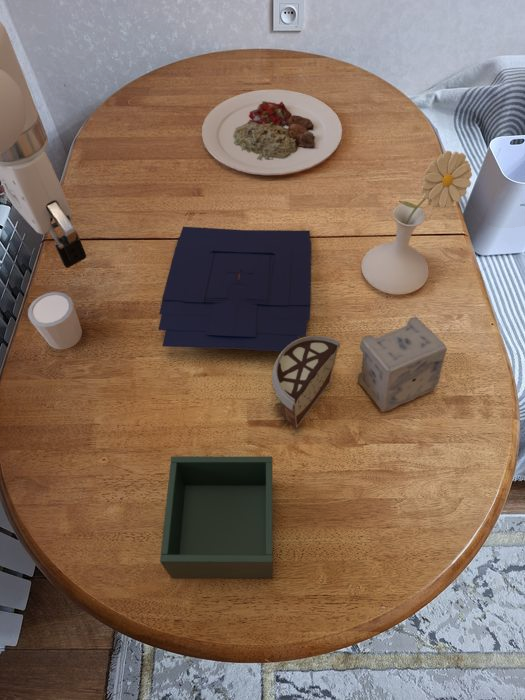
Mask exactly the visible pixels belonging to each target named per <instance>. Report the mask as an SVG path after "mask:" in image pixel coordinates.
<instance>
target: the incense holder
mask: <svg viewBox="0 0 525 700" xmlns="http://www.w3.org/2000/svg"><path fill="white" fill-rule="evenodd" d="M359 349H360V351H361V353H362V360H361V361H362V362H361V371H360V372H359V373H358V378H357V382H358V383H359V384H360V386H361V388H363V389H364V390H365V392H366V393H367V394H368V396H369V397H370V398H371V399H372V401H373V402H374V403H375V405H376V406H377V407H378V408H379V410H380V411H381V412H382V413H385V412H388V411H390V410H393V409H394V408H397V407H399V406H400V405H402V404H405V403H408V402H411V401H413V400H415V399H416V398H418V397H420V396H423V395H425V394H427V393H430V392H432V391H434V390H435V389H436V388H437V386H438V385H439V382H440V379H441V373H442V369H443V366H444V362H445V357H446V354H447V350H448V348H447V346H446V344H445V343H444V342H443V341H442V340H441V339H440V337H438V336H437V334H435V333H434V332H433V331H432V330H431V329H430V328H429V327H428V326H427V325H426V324H425V323H423V321H422V320H420V318H419V317H418V316H412V317H410V318H409V319H408V321H406V325H403V326H402V327H400V328H397V329H395V330H392V331H390V332H386V333H385V334H382V335H379V336H377V337H375V336H373V335H371V334H369V335H365V336H362V338H361V341H360V345H359Z"/></svg>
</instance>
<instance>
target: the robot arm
mask: <svg viewBox="0 0 525 700" xmlns="http://www.w3.org/2000/svg"><path fill="white" fill-rule="evenodd" d="M20 64H21V63H20V61H19V59H18V57H17V54H16V51H15V49H14V46H13V42H12V40H11V37H10V36H9V33H8V31H7V29H6V27H5V25H4V24H3V22H1V21H0V183H1V185H2V187H3V190H4V192H5V194H6V196H7V198H8V200H9V202H10V203H11V204H12V206H13V208H15V209H16V211H17V212H18V214H19V215H21V217H22V218H23V219H24V220H25V221H26V223H27V224H28V225H29V226H30V228H31V229H32V230H34V231H35V233H37V234H40V235H46V234H47V233H50V235H51V236H52V239H53V240H54V241H55V244H54V246H55V249H56V251H57V253H58V255H59V257H60V260H61V262H62V264H63V266H64V267H65V268H66V269H68V268H70V267H72V266H75V265H76V264H79V263H80V262H82V261H84V260H85V259H87V254H86V250H85V248H84V246H83V243H82V241H81V238H80V236H79V234H78V231H76V228H75V227H74V225H73V223H71V221H72V218H73V213H72V210H71V207H70V204H69V202H68V199H67V196H66V194H65V192H64V190H63V187H62V185H61V183H60V180H59V177H58V175H57V174H56V171H55V170H54V167H53V164H52V163H51V161H50V159H49V157H48V154H47V152H46V151H45V150H46V149H47V147H48V144H49V138H48V135H47V132H46V130H45V127H44V124H43V121H42V119H41V116H40V114H39V112H38V109H37V107H36V103H35V101H34V98H33V96H32V93H31V91H30V87H29V85H28V83H27V80H26V78H25V74H24V72H23V70H22V67H21V65H20ZM53 220H54V221H55V222H53ZM51 222H53V223H51ZM56 228H60V230H61V232H62V235H61V236H59V234H58V232H57V231H56V230H55V229H56Z"/></svg>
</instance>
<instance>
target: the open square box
mask: <svg viewBox="0 0 525 700" xmlns="http://www.w3.org/2000/svg"><path fill="white" fill-rule="evenodd" d="M169 464H170V465H169V475H168V482H167V483H168V485H167V493H166V500H165V501H166V502H165V511H164V521H163V528H162V529H163V531H162V539H161V549H160V557H159V562H160V564H161V565H162V566H163V568H164V570H165V571H166V572H167V574H168V575H169V577H170V578H171V579H183V580H184V579H187V580H188V579H193V580H194V579H197V580H199V579H202V580H203V579H205V580H206V579H210V580H211V579H214V580H215V579H217V580H219V579H220V580H227V579H228V580H273V579H274V578H273V577H274V552H273V551H274V545H273V543H274V537H273V535H274V533H273V532H274V529H273V528H274V526H273V525H274V524H273V523H274V522H273V521H274V520H273V515H274V514H273V512H274V511H273V506H274V505H273V503H274V500H273V497H274V496H273V490H274V489H273V483H274V482H273V456H170V463H169Z"/></svg>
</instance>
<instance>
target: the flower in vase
mask: <svg viewBox="0 0 525 700" xmlns="http://www.w3.org/2000/svg"><path fill="white" fill-rule="evenodd" d="M425 174H426V175H425V176H424V177H423V178H422V182H423V183H422V187H421V190H420V191H421V193H422V194H423V198H422V199H421V201H419V203H418V204H417V205H416V204H414V203H412V202H409V201H407V200H406V201H405V200H399V201H398V203H401V204H399V205H397V206H395V208H393V211H392V218H393V220H394V221H395V222H396V235H395V239H394V242H393V241H391V242H383V243H381V244H378V245H375V246H374V247H372V248H371V249H369V250H368V251H367V253H366V254H365V255H364V257H363V258H362V260H361V266H360V267H361V272H362V275H363V277H364V279H365V280H366V281H367V282H368V284H370V285H371V286H372V287H373V288H375V289H376V290H378V291H380V292H382V293H386V294H389V295H406V294H410V293H413V292H415V291H418V290H419V289H420V288H422V287H423V286H424V284H426V282H427V280H428V278H429V267H428V266H429V265H428V263H427V260H426V259H425V257H424V256H423V255H422V253H420V252H419V250H417V249H415V248H414V247H412V246H411V245H410V240H411V238H412V234H413V232H414V231H415V229H416V228H417V227H418V226H420V225H421V224H423V223H424V222H425V221H426V219H427V217H426V216H427V215H426V212H425V211H424V209H423V208H421V207H420V206H421V205H422V204H423V203H424V202H425V201H426V200H427V201H426V203H427V206H431V207H433V208H436V209H437V208H440V209H450V208H451V207H452V205H454V203H457V204H458V203H460V202H461V200H462V197H465V196H466V195H467V193H468V192H467V189H468V188H470V187H471V185H472V182H471V180H470V179H471V178H472V176H473V173H472V168H471V164H470V162H469V161H468V160H467V155H466V154H465V153H463V152H458V151H454V152H453V153H452V150H445V151H444V152H443V153H441V154H439V156H438V158H437V160H431V162H430V163H429V165H428V166H427V168H426V169H425Z"/></svg>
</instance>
